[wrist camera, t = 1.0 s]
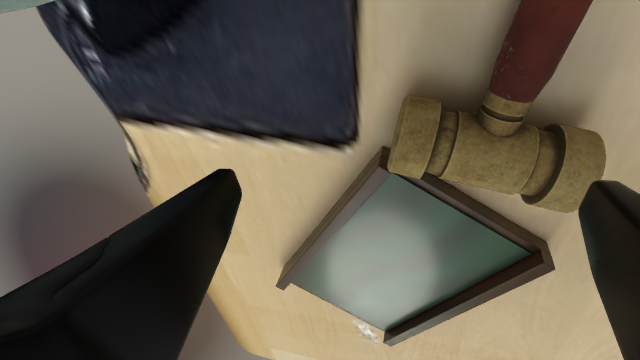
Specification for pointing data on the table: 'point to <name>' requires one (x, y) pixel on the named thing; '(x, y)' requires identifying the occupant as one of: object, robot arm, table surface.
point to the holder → (412, 253)
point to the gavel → (508, 122)
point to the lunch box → (19, 4)
